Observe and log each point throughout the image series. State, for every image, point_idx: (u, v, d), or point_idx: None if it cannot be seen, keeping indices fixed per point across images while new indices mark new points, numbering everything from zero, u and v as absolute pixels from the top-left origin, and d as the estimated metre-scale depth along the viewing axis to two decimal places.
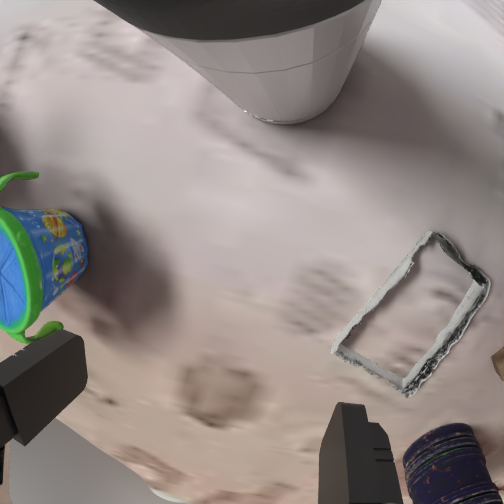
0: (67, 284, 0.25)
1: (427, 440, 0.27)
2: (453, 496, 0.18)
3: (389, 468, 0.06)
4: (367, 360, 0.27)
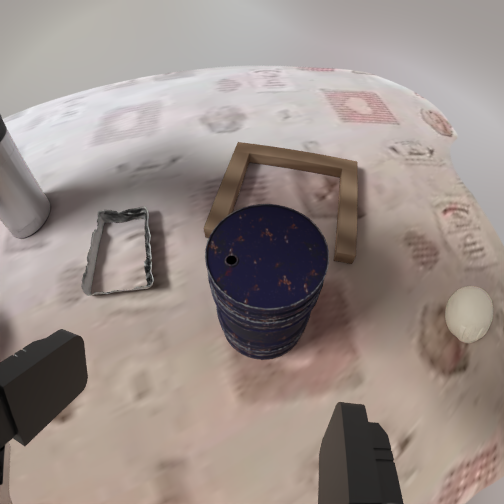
0: None
1: None
2: None
3: (389, 468, 0.06)
4: None
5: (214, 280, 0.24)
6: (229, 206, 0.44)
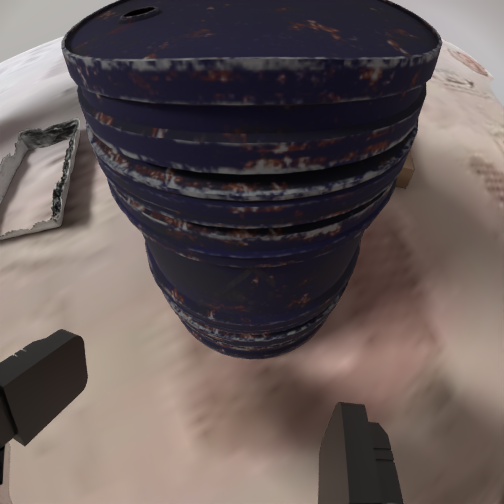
0: None
1: None
2: None
3: (389, 468, 0.06)
4: (14, 235, 0.21)
5: (68, 49, 0.05)
6: None
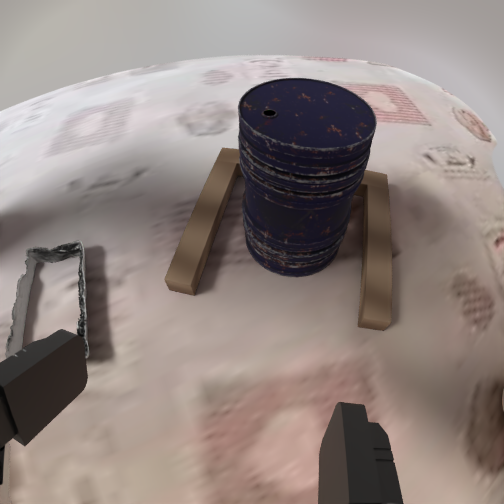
0: None
1: None
2: None
3: (389, 468, 0.06)
4: None
5: (252, 128, 0.19)
6: (203, 244, 0.30)
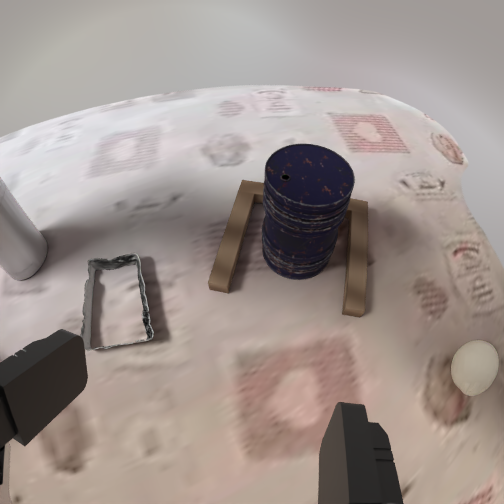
0: None
1: None
2: None
3: (389, 468, 0.06)
4: None
5: (275, 190, 0.32)
6: (234, 257, 0.43)
